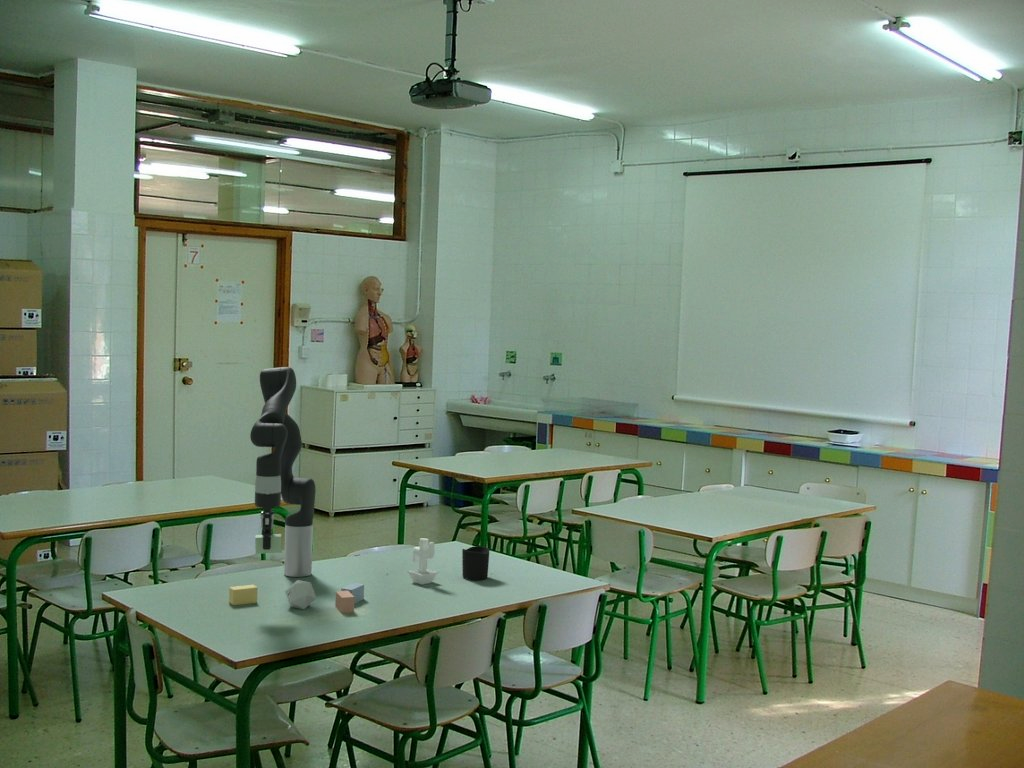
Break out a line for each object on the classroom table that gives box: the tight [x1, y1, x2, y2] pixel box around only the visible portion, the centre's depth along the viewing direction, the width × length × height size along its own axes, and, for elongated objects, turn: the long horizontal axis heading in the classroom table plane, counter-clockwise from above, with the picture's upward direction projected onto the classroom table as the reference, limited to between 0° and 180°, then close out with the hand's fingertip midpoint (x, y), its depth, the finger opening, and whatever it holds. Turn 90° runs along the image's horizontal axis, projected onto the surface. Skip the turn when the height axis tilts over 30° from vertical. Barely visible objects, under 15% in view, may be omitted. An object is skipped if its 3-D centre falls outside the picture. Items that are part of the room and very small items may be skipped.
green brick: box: [254, 533, 283, 555], centre depth 297 cm, size 4×8×5 cm, turn 103°
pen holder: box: [461, 545, 490, 581], centre depth 347 cm, size 9×9×10 cm
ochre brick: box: [228, 584, 258, 606], centre depth 306 cm, size 4×8×5 cm, turn 123°
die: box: [284, 579, 317, 610], centre depth 303 cm, size 8×9×10 cm
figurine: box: [407, 537, 439, 586], centre depth 338 cm, size 7×9×15 cm
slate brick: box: [340, 582, 365, 604], centre depth 312 cm, size 4×8×5 cm, turn 159°
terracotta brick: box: [334, 590, 355, 614], centre depth 302 cm, size 4×8×5 cm, turn 24°
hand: (266, 547), depth 297 cm, fingers closed on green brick, 3 cm apart
